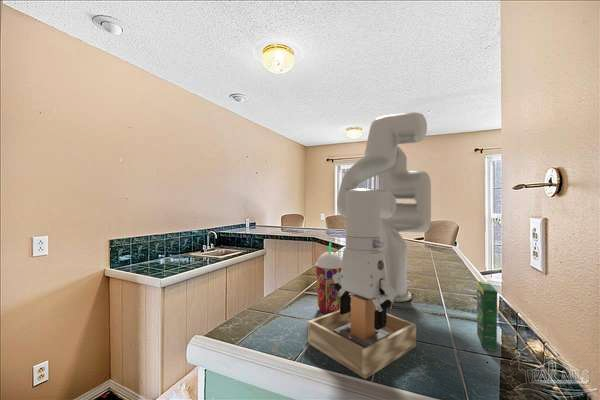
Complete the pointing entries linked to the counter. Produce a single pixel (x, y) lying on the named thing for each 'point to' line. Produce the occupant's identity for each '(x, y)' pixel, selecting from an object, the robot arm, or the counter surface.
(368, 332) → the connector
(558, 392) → the counter surface
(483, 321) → the coffee box
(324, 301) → the smoothie
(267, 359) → the counter surface
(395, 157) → the robot arm
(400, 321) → the walled tray
